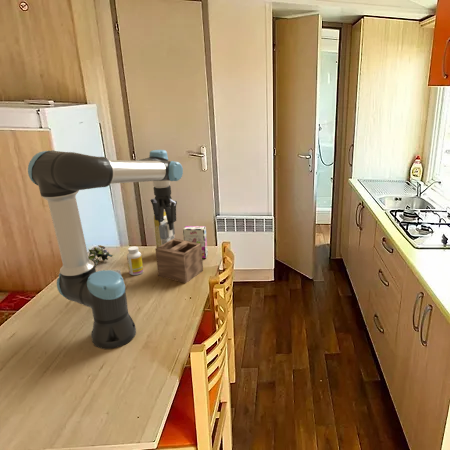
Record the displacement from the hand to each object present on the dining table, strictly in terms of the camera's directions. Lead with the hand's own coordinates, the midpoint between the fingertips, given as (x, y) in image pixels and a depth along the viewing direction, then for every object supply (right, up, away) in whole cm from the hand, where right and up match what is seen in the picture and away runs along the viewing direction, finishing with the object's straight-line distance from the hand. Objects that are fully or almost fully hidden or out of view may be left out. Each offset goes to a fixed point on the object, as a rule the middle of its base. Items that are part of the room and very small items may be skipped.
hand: (167, 235), depth 170 cm
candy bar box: (+12, -12, +23) cm, 29 cm away
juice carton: (-5, -11, +27) cm, 30 cm away
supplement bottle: (-16, -18, +9) cm, 26 cm away
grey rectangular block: (0, 0, 0) cm, 1 cm away
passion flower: (-38, -15, +20) cm, 46 cm away
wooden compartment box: (+6, -18, +6) cm, 20 cm away
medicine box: (-23, -24, -6) cm, 34 cm away
